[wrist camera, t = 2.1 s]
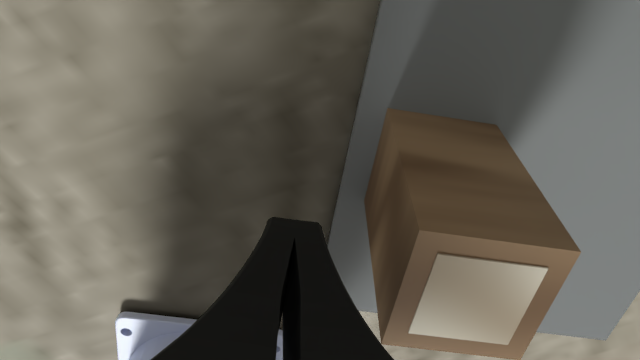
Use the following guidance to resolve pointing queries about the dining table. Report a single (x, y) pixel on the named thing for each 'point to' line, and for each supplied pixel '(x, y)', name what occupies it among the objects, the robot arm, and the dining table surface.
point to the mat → (518, 128)
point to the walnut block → (460, 239)
